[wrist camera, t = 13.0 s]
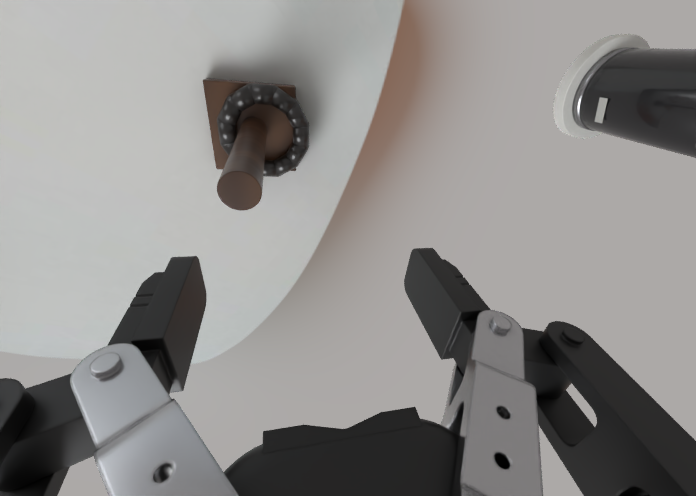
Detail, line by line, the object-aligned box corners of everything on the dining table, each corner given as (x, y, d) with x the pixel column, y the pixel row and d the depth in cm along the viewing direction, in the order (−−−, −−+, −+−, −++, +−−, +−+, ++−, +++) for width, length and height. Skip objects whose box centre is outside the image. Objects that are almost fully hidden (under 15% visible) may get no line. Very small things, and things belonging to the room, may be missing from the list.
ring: (309, 87, 28) (310, 89, 27) (307, 174, 32) (308, 179, 31) (213, 79, 26) (209, 80, 25) (225, 172, 31) (223, 178, 29)
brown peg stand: (294, 85, 29) (312, 120, 16) (295, 166, 33) (309, 248, 20) (205, 78, 27) (139, 110, 14) (218, 164, 32) (177, 252, 18)
